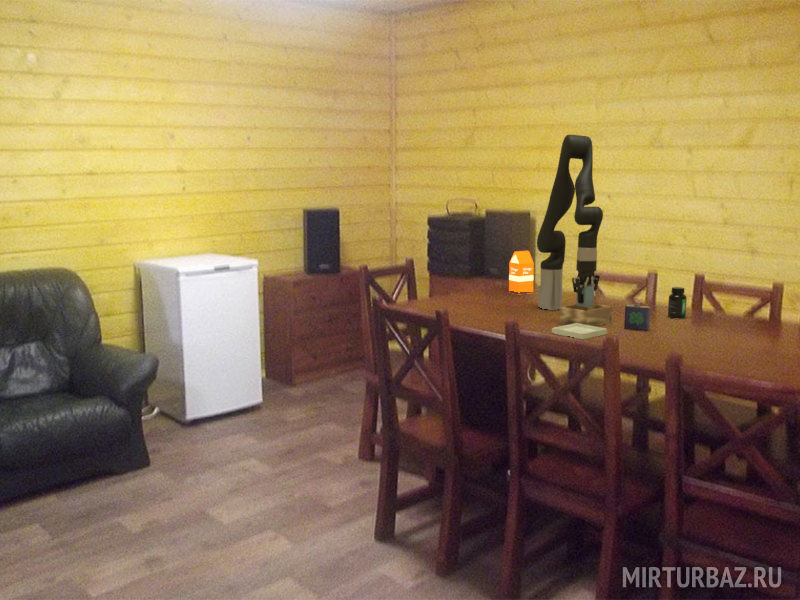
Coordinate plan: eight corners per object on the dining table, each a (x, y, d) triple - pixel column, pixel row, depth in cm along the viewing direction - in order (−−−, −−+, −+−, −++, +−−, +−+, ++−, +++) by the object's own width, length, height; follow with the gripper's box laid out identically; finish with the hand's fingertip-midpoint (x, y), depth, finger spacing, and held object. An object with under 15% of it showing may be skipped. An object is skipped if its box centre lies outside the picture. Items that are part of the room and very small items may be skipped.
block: (576, 305, 316) (577, 285, 315) (584, 304, 319) (584, 284, 317) (585, 307, 313) (586, 286, 311) (593, 306, 315) (594, 285, 314)
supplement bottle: (688, 319, 324) (689, 289, 322) (671, 319, 324) (672, 289, 322) (682, 315, 330) (683, 286, 328) (665, 315, 330) (666, 286, 328)
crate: (559, 323, 317) (559, 306, 316) (585, 318, 326) (585, 302, 325) (585, 328, 307) (585, 311, 306) (611, 323, 317) (611, 306, 315)
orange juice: (533, 292, 390) (534, 251, 387) (518, 294, 386) (519, 252, 382) (523, 290, 397) (523, 249, 393) (508, 292, 392) (509, 250, 389)
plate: (551, 333, 299) (551, 327, 299) (576, 328, 307) (576, 323, 307) (582, 339, 288) (582, 334, 288) (607, 334, 297) (607, 328, 296)
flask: (650, 330, 303) (651, 301, 302) (648, 331, 301) (649, 302, 299) (624, 328, 308) (625, 300, 306) (623, 329, 305) (624, 301, 303)
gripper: (591, 256, 320) (589, 299, 323) (566, 259, 311) (565, 303, 314) (606, 258, 314) (604, 301, 317) (582, 261, 305) (580, 306, 308)
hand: (584, 302), depth 316 cm, fingers closed on block, 4 cm apart
